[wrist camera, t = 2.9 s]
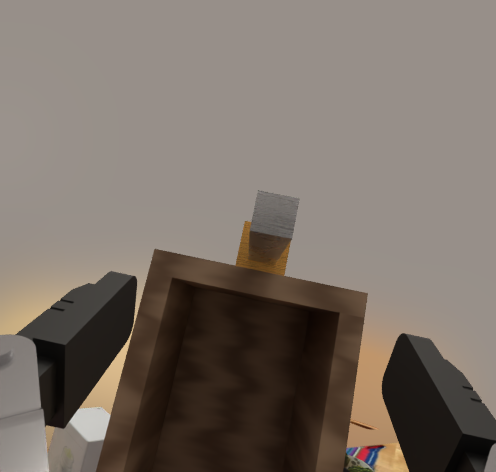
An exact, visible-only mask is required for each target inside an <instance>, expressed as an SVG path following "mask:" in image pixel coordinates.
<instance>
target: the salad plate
mask: <svg viewBox="0 0 496 472" xmlns="http://www.w3.org/2000/svg"><path fill="white" fill-rule="evenodd" d="M343 472H374V471H373V470H372V469H371V468H370V467H369V466H368V465H367V464H366V463H365V462H363V461H361V460H359V459H357V458H355V457H352V456H349V455H347V453H346V454H345V461H344V468H343Z"/></svg>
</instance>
